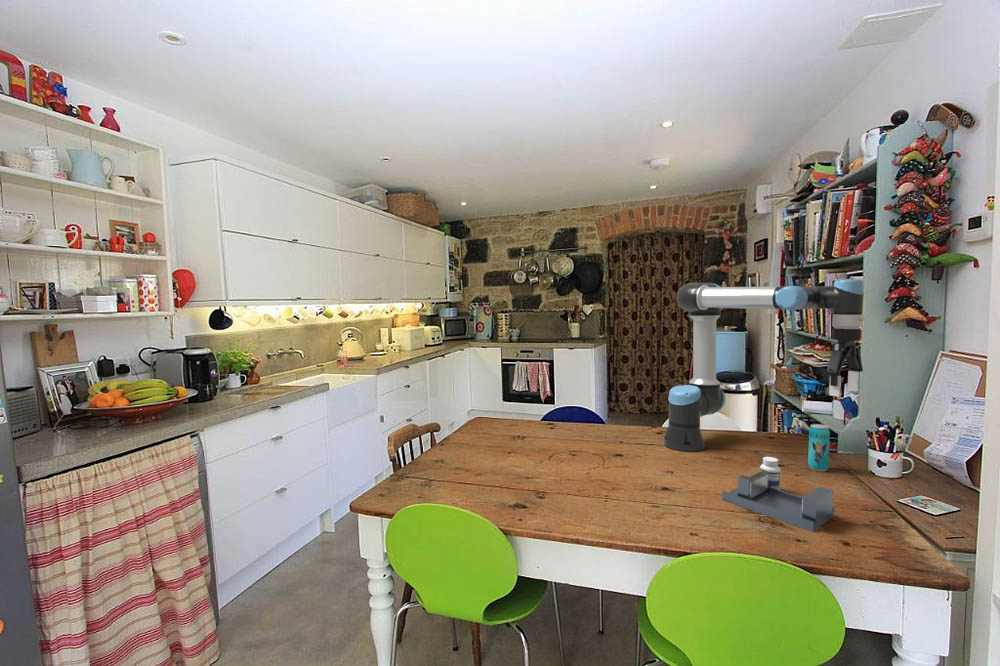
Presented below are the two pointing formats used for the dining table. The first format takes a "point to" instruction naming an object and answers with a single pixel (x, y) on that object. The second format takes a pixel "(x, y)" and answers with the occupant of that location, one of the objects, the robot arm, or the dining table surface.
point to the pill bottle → (772, 472)
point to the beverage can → (819, 447)
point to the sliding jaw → (752, 483)
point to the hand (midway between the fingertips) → (843, 393)
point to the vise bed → (789, 506)
